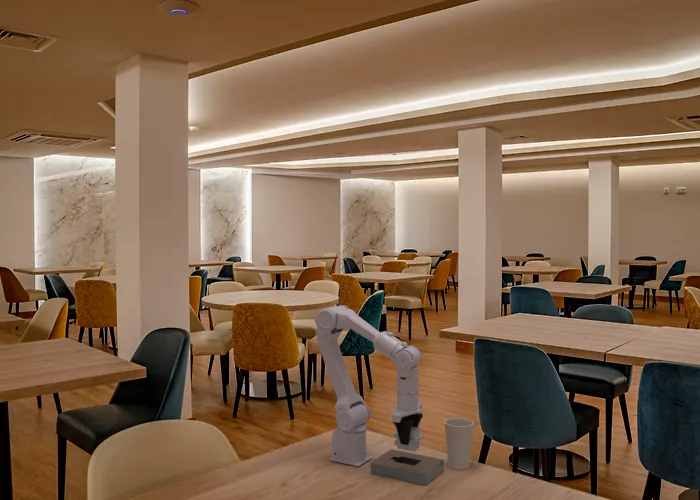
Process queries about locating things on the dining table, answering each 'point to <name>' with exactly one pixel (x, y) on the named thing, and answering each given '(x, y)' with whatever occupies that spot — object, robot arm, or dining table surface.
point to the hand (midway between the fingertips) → (407, 442)
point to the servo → (413, 440)
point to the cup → (458, 442)
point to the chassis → (407, 467)
